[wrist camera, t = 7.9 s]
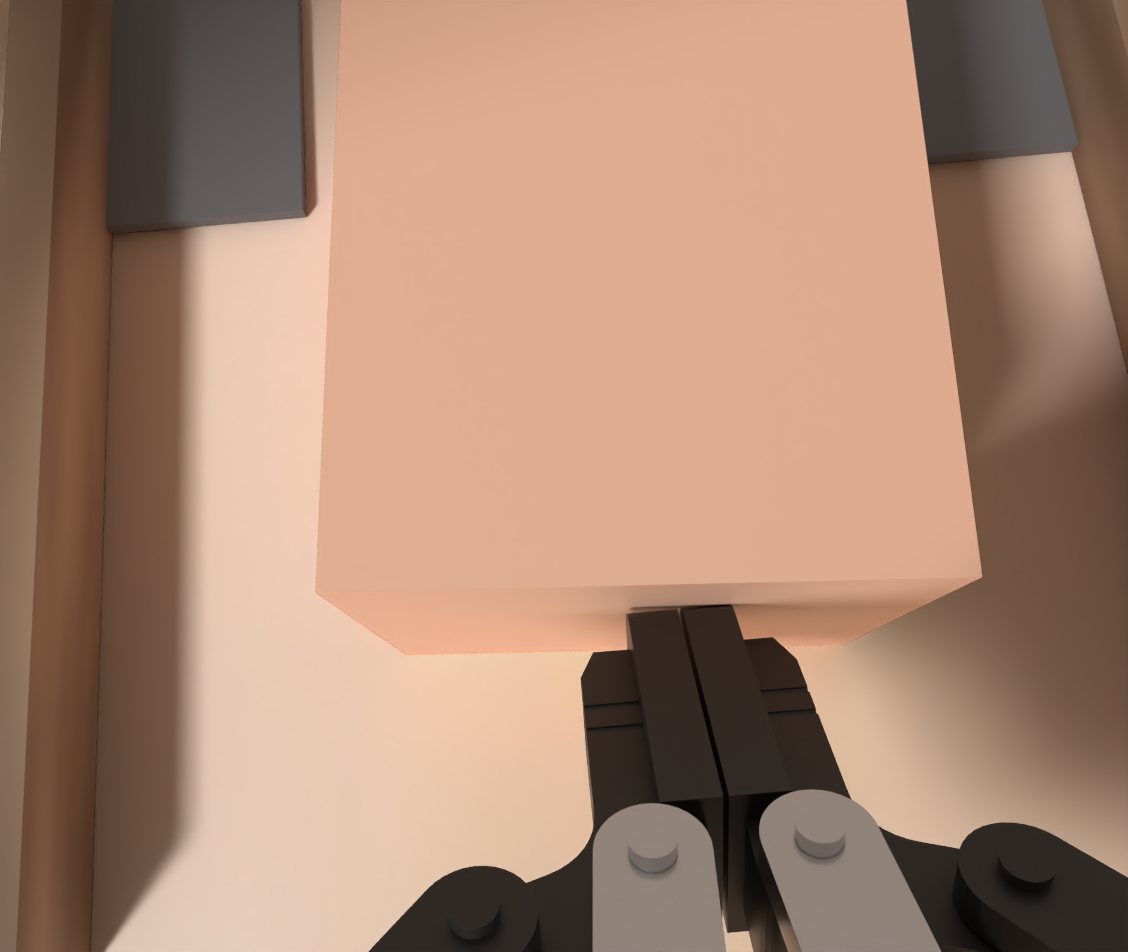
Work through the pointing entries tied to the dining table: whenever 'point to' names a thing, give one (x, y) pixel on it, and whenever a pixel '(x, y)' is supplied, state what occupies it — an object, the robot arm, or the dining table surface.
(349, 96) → the terracotta block
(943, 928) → the robot arm
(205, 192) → the pads
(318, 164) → the dining table surface
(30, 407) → the lane rails
